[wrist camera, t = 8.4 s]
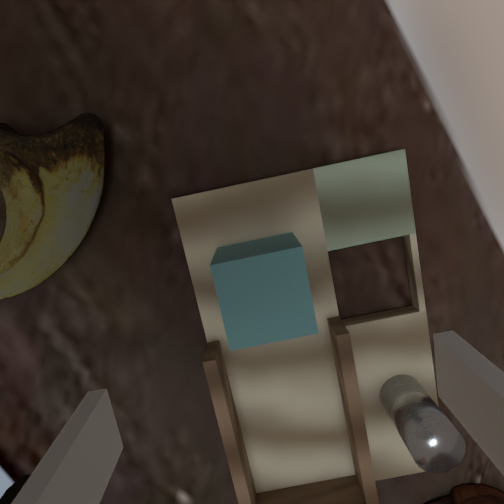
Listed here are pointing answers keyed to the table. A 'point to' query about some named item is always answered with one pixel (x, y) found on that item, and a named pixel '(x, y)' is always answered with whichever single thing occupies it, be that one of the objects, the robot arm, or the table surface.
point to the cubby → (363, 483)
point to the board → (325, 306)
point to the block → (263, 291)
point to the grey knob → (422, 425)
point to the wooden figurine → (472, 495)
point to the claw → (47, 198)
